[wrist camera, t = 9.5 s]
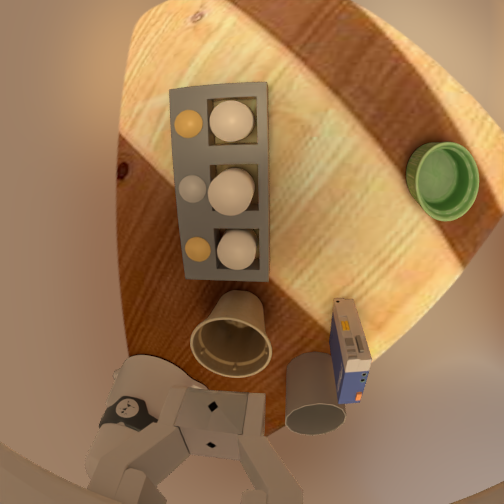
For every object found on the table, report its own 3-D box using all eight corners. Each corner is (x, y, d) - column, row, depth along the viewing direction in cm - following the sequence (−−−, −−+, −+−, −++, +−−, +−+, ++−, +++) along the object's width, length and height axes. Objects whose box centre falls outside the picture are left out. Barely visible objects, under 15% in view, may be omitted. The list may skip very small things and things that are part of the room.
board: (269, 269, 38) (268, 282, 35) (192, 267, 39) (185, 279, 36) (267, 85, 29) (266, 81, 26) (178, 91, 30) (168, 89, 27)
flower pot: (198, 319, 42) (181, 361, 34) (218, 267, 38) (202, 305, 31) (258, 342, 43) (253, 386, 35) (286, 293, 39) (286, 336, 31)
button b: (255, 206, 32) (252, 215, 29) (216, 206, 32) (209, 215, 29) (254, 167, 30) (251, 172, 27) (214, 168, 31) (206, 173, 28)
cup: (303, 345, 42) (305, 397, 33) (348, 360, 43) (358, 410, 34) (277, 378, 46) (274, 428, 37) (320, 391, 47) (323, 439, 38)
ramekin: (388, 188, 32) (401, 197, 28) (420, 124, 28) (437, 125, 24) (440, 222, 33) (456, 234, 29) (470, 163, 29) (489, 170, 25)
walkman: (347, 341, 42) (360, 404, 31) (329, 342, 42) (338, 406, 31) (353, 297, 38) (374, 359, 27) (333, 297, 39) (348, 361, 28)
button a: (257, 257, 37) (255, 270, 34) (223, 256, 37) (218, 269, 34) (257, 224, 35) (254, 234, 32) (221, 224, 35) (215, 234, 32)
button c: (255, 139, 31) (252, 141, 28) (217, 140, 31) (210, 142, 28) (254, 101, 29) (251, 99, 26) (216, 103, 30) (208, 101, 27)
